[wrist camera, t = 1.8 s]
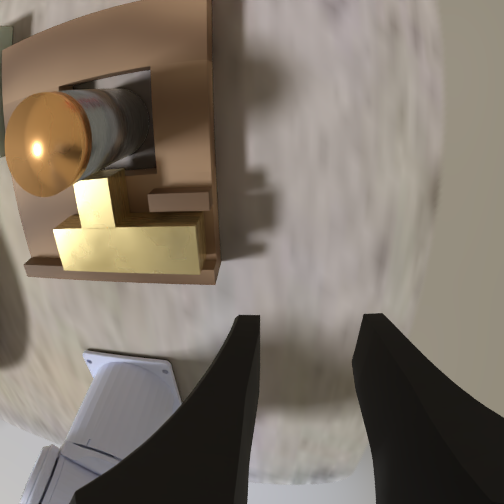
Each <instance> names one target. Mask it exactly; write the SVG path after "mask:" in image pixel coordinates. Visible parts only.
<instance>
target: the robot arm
mask: <svg viewBox="0 0 504 504" xmlns="http://www.w3.org/2000/svg"><path fill="white" fill-rule="evenodd" d="M83 358H84V360H85V362H86V364H87V366H88V368H89V370H90V372H91V374H92V376H93V378H94V379H93V381H92V383H91V385H90V387H89V389H88V391H87V393H86V395H85V398H84V400H83V402H82V404H81V406H80V408H79V410H78V412H77V415H76V417H75V419H74V421H73V423H72V426H71V428H70V430H69V432H68V435H67V437H66V439H65V441H64V444H63V445H62V446H61V448H60V449H59V448H58V447H56V446H55V445H53V444H52V445H51V446H50V447H49V446H46V447H43V448H42V450H41V452H40V454H39V456H38V458H37V460H36V463H35V465H34V467H33V469H32V472H31V474H30V476H29V479H28V481H27V484H26V486H25V489H24V491H23V494H22V497H21V499H20V503H19V504H247V496H248V476H249V461H250V452H251V446H252V439H253V432H254V425H255V419H256V412H257V404H258V397H259V380H260V315H239V316H237V317H236V318H235V320H234V323H233V326H232V328H231V330H230V332H229V334H228V336H227V338H226V340H225V342H224V344H223V346H222V347H221V349H220V351H219V352H218V354H217V356H216V357H215V359H214V361H213V362H212V364H211V366H210V367H209V369H208V370H207V371H206V373H205V374H204V376H203V377H202V378H201V380H200V381H199V383H198V384H197V385H196V387H195V388H194V390H193V391H192V392H191V393H190V395H189V396H188V397H187V398H186V400H185V401H184V402H183V403H182V402H181V398H180V395H179V391H178V388H177V384H176V381H175V377H174V373H173V370H172V366H171V364H170V363H169V362H168V361H166V360H159V359H149V358H139V357H131V356H123V355H115V354H108V353H101V352H94V351H88V350H85V351H84V353H83ZM352 367H353V374H354V382H355V388H356V393H357V397H358V401H359V404H360V408H361V412H362V416H363V420H364V424H365V428H366V432H367V436H368V440H369V444H370V448H371V453H372V459H373V467H374V476H375V490H376V504H504V418H503V417H501V416H500V415H498V414H497V413H495V412H494V411H492V410H490V409H489V408H487V407H485V406H484V405H483V404H481V403H480V402H478V401H477V400H476V399H474V398H473V397H472V396H470V395H469V394H468V393H466V392H465V391H464V390H462V389H461V388H460V387H459V386H457V385H456V384H455V383H454V382H453V381H451V380H450V379H449V378H448V377H447V376H446V375H445V374H444V373H442V372H441V371H440V370H439V369H438V368H437V367H436V366H434V364H433V363H432V362H430V361H429V360H428V359H427V358H426V357H425V356H424V355H423V354H422V353H421V352H420V351H419V350H418V349H417V348H416V347H415V346H414V345H413V344H412V343H411V342H410V341H409V340H408V339H407V338H406V337H405V336H404V335H403V334H402V333H401V332H400V330H399V329H398V328H397V327H396V326H395V325H394V324H393V323H392V322H391V321H390V320H389V319H388V318H387V317H386V316H385V315H384V314H382V313H378V314H364V315H363V319H362V323H361V328H360V332H359V336H358V340H357V344H356V348H355V351H354V355H353V359H352Z"/></svg>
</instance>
